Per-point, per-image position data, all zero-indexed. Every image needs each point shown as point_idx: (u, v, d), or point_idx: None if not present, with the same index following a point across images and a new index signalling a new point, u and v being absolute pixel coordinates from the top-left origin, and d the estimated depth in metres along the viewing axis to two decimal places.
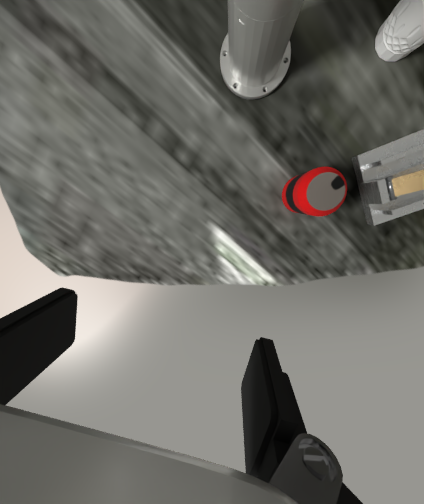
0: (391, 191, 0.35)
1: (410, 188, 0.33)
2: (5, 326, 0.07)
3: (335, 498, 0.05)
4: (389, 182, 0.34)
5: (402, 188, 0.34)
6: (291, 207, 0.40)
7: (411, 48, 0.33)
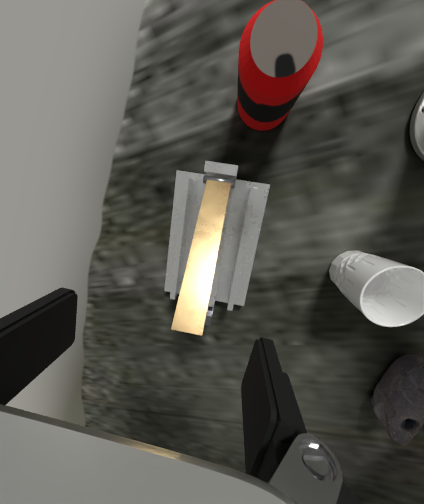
0: (215, 178, 0.26)
1: (209, 193, 0.25)
2: (5, 326, 0.07)
3: (335, 498, 0.05)
4: (228, 180, 0.25)
5: (214, 187, 0.25)
6: None
7: (342, 268, 0.30)
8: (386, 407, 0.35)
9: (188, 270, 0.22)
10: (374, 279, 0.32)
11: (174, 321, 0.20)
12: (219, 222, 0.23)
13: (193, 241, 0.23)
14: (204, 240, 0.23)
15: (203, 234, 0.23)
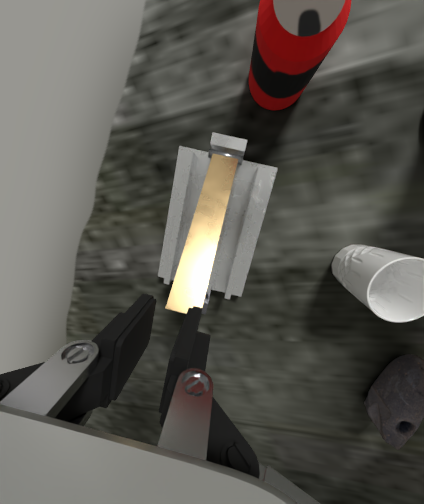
0: (222, 152, 0.24)
1: (214, 167, 0.23)
2: (124, 329, 0.08)
3: (210, 401, 0.06)
4: (235, 155, 0.24)
5: (220, 162, 0.23)
6: None
7: (347, 260, 0.29)
8: (381, 408, 0.34)
9: (187, 246, 0.20)
10: (378, 275, 0.31)
11: (169, 300, 0.18)
12: (224, 198, 0.22)
13: (195, 216, 0.21)
14: (207, 215, 0.21)
15: (206, 210, 0.21)
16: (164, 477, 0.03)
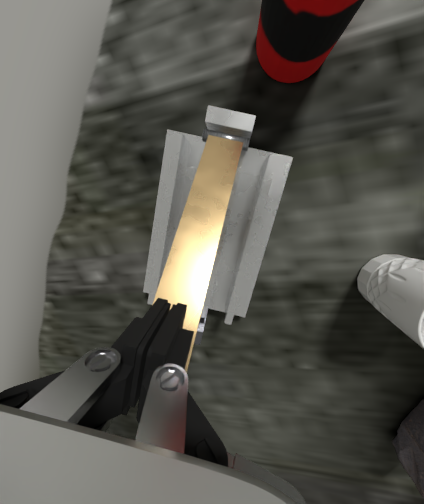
0: (221, 134, 0.17)
1: (211, 154, 0.17)
2: (144, 335, 0.08)
3: (186, 393, 0.06)
4: (239, 137, 0.17)
5: (218, 146, 0.17)
6: None
7: (381, 276, 0.23)
8: (417, 455, 0.27)
9: (169, 266, 0.13)
10: None
11: None
12: (223, 196, 0.15)
13: (181, 221, 0.15)
14: (199, 220, 0.15)
15: (197, 212, 0.15)
16: (164, 477, 0.03)
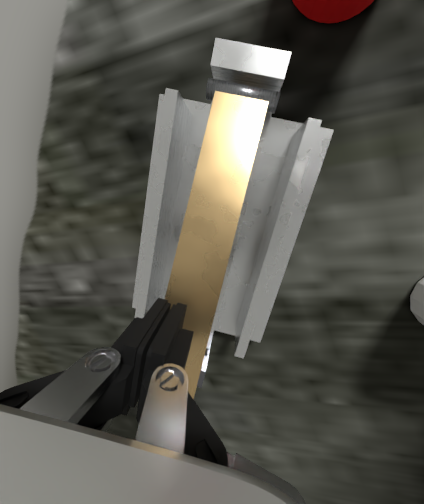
0: (234, 87, 0.11)
1: (218, 128, 0.11)
2: (144, 335, 0.08)
3: (186, 393, 0.06)
4: (262, 93, 0.11)
5: (230, 113, 0.11)
6: None
7: None
8: None
9: (170, 297, 0.12)
10: None
11: None
12: (235, 200, 0.11)
13: (181, 240, 0.12)
14: (203, 238, 0.12)
15: (200, 227, 0.12)
16: (164, 477, 0.03)
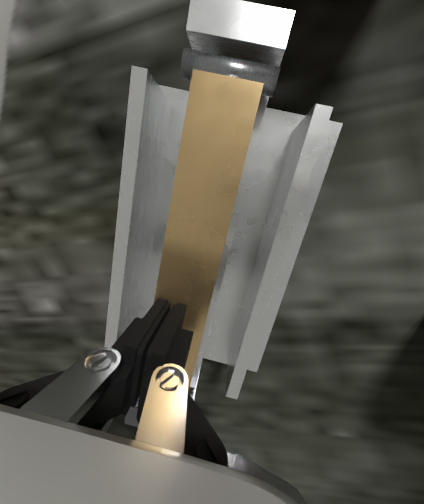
0: (218, 63, 0.08)
1: (199, 124, 0.09)
2: (144, 335, 0.08)
3: (186, 393, 0.06)
4: (256, 71, 0.08)
5: (213, 101, 0.09)
6: None
7: None
8: None
9: None
10: None
11: None
12: (221, 216, 0.10)
13: (163, 259, 0.11)
14: (187, 258, 0.11)
15: (184, 246, 0.10)
16: (164, 477, 0.03)
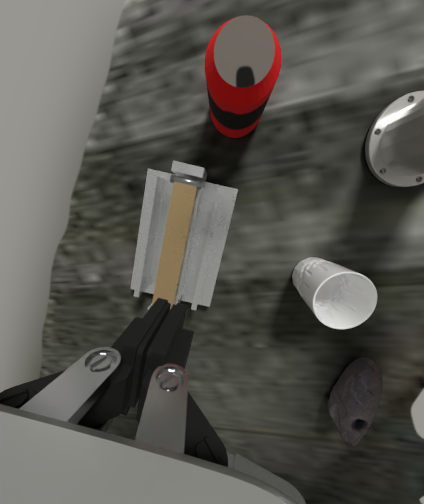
0: (182, 180, 0.26)
1: (176, 198, 0.27)
2: (144, 335, 0.08)
3: (186, 393, 0.06)
4: (194, 183, 0.26)
5: (180, 191, 0.26)
6: None
7: (302, 272, 0.32)
8: (340, 408, 0.37)
9: (160, 268, 0.29)
10: (331, 285, 0.34)
11: (153, 301, 0.30)
12: (184, 229, 0.27)
13: (163, 245, 0.28)
14: (172, 244, 0.28)
15: (171, 239, 0.28)
16: (164, 477, 0.03)
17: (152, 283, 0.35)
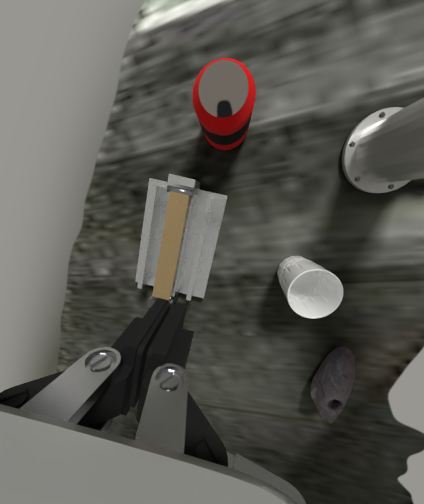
0: (176, 190, 0.31)
1: (172, 205, 0.32)
2: (144, 335, 0.08)
3: (186, 393, 0.06)
4: (186, 192, 0.31)
5: (175, 199, 0.31)
6: None
7: (283, 269, 0.36)
8: (319, 390, 0.41)
9: (159, 264, 0.34)
10: (311, 281, 0.38)
11: (153, 292, 0.35)
12: (179, 231, 0.32)
13: (161, 244, 0.33)
14: (169, 244, 0.33)
15: (168, 240, 0.33)
16: (164, 477, 0.03)
17: (154, 276, 0.41)
